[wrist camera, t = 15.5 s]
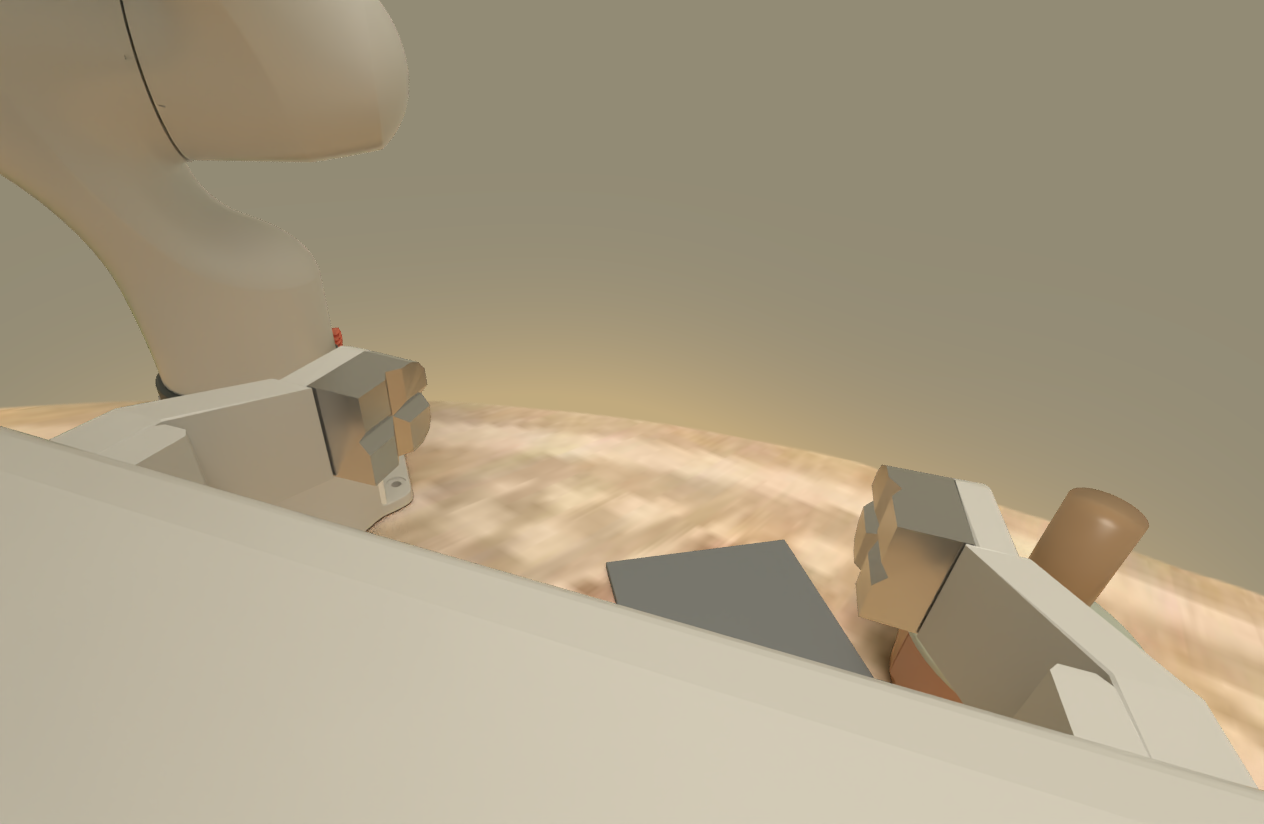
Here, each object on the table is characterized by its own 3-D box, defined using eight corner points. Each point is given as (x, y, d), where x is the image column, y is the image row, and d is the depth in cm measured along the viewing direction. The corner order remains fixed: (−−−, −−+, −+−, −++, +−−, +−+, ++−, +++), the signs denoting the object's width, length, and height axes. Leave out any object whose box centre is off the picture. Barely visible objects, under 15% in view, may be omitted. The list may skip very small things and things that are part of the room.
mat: (606, 566, 47) (606, 562, 47) (782, 543, 51) (784, 539, 50) (661, 769, 34) (662, 764, 33) (893, 717, 38) (896, 712, 37)
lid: (859, 572, 40) (911, 444, 34) (1019, 548, 44) (1091, 428, 38) (1016, 782, 29) (1133, 642, 23) (1216, 728, 32) (1362, 594, 26)
